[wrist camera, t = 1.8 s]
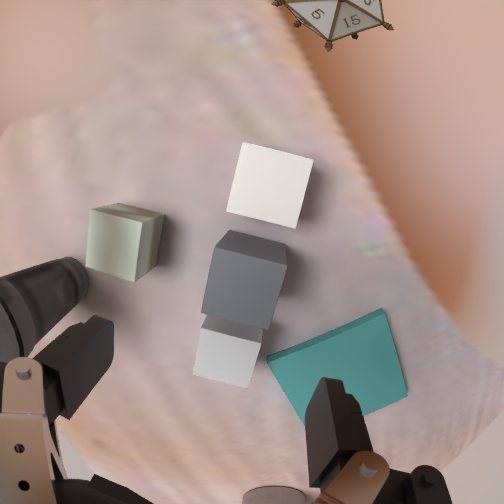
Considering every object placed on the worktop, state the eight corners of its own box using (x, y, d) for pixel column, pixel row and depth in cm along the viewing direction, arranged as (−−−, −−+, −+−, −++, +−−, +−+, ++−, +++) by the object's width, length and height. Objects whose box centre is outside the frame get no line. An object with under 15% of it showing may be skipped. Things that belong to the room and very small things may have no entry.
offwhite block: (306, 162, 22) (313, 159, 18) (291, 219, 23) (295, 228, 19) (249, 148, 22) (242, 142, 18) (235, 204, 24) (226, 211, 19)
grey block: (264, 316, 26) (261, 343, 21) (251, 358, 27) (247, 388, 22) (213, 303, 26) (201, 327, 21) (204, 345, 27) (192, 373, 22)
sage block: (164, 214, 24) (142, 222, 20) (156, 265, 25) (134, 282, 21) (118, 203, 24) (90, 209, 20) (112, 252, 25) (85, 266, 21)
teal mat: (404, 390, 27) (407, 395, 26) (309, 428, 28) (310, 434, 27) (381, 308, 24) (384, 313, 24) (267, 356, 26) (266, 362, 25)
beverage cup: (109, 268, 26) (-65, 389, 6) (90, 325, 27) (-39, 449, 8) (55, 229, 25) (-116, 298, 6) (41, 287, 27) (-94, 374, 8)
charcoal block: (285, 243, 24) (287, 265, 18) (270, 295, 25) (268, 330, 19) (229, 229, 24) (214, 246, 18) (217, 281, 25) (200, 312, 19)
